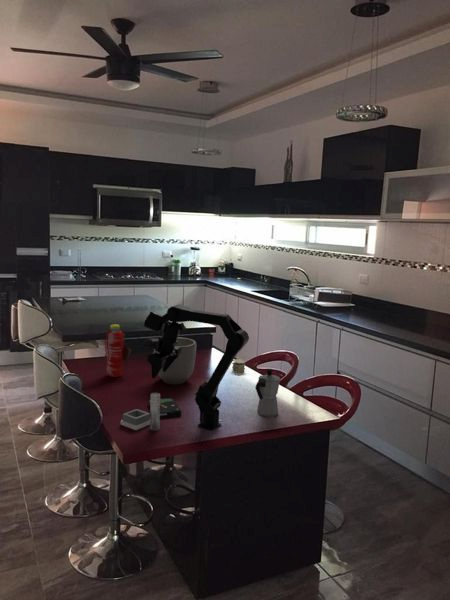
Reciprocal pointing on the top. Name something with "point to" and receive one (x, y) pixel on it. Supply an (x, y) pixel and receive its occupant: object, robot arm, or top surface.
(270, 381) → the coffee maker
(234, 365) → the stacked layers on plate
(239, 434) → the top surface
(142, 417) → the square open box
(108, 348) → the water bottle
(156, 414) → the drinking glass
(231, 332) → the robot arm
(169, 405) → the disk drive
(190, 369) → the planter
